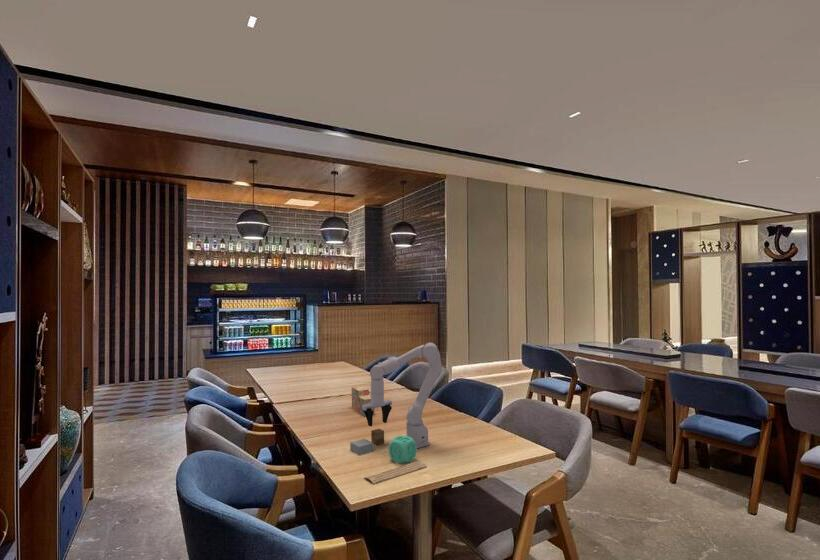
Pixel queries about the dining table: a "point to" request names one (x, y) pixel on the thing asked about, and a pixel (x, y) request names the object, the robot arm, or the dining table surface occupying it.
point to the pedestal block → (361, 446)
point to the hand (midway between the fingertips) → (377, 424)
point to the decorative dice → (402, 449)
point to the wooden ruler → (396, 472)
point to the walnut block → (377, 436)
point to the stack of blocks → (360, 398)
